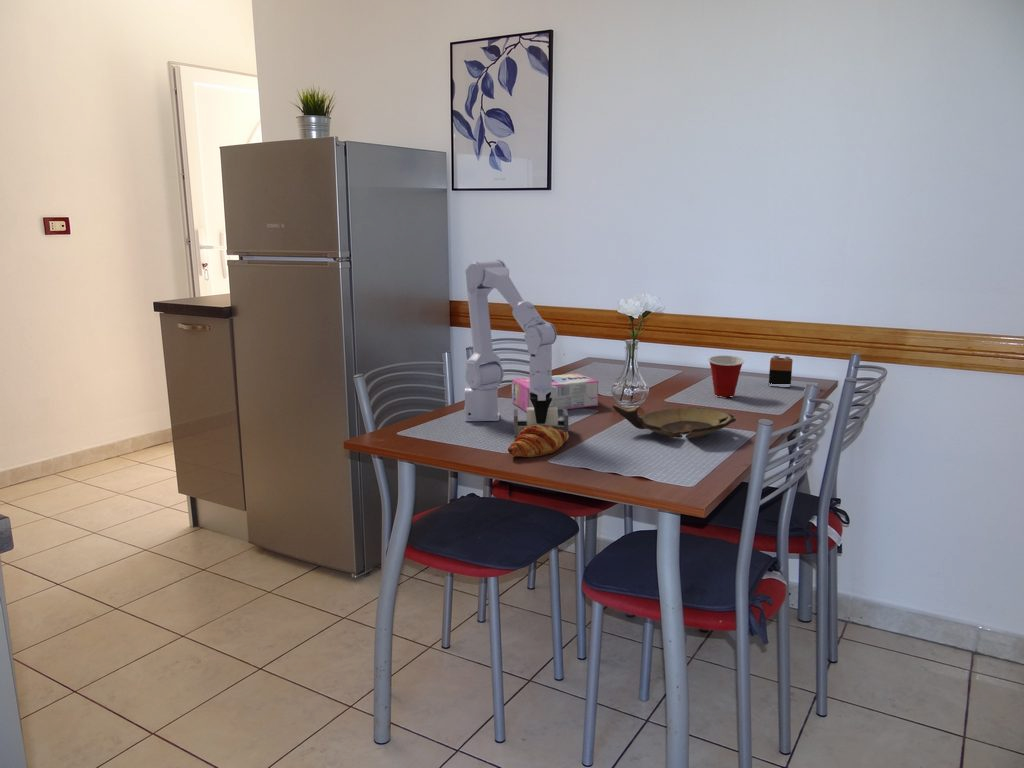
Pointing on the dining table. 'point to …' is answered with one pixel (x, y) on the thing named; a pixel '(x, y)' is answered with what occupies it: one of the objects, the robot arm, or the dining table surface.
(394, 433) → the dining table surface
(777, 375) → the battery
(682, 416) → the oil lamp
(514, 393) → the gum box
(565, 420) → the grey metal bracket
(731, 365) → the plastic cup
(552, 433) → the croissant
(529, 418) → the cream rectangular block
